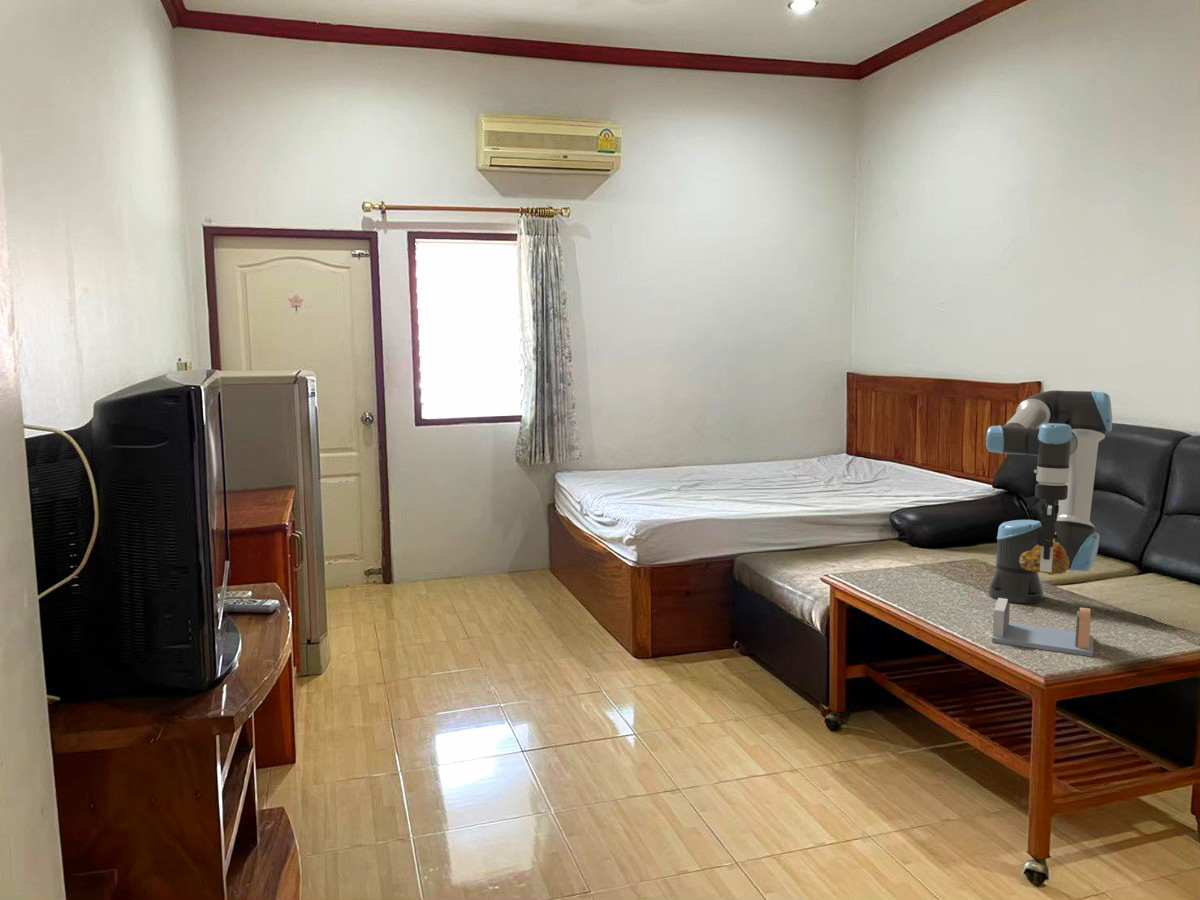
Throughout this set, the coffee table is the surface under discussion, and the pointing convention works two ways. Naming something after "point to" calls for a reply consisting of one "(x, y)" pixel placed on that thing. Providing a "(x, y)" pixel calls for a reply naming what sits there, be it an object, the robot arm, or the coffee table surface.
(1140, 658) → the coffee table surface
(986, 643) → the coffee table surface
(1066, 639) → the base
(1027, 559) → the rock
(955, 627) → the coffee table surface
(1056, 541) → the robot arm
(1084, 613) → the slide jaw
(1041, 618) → the coffee table surface
